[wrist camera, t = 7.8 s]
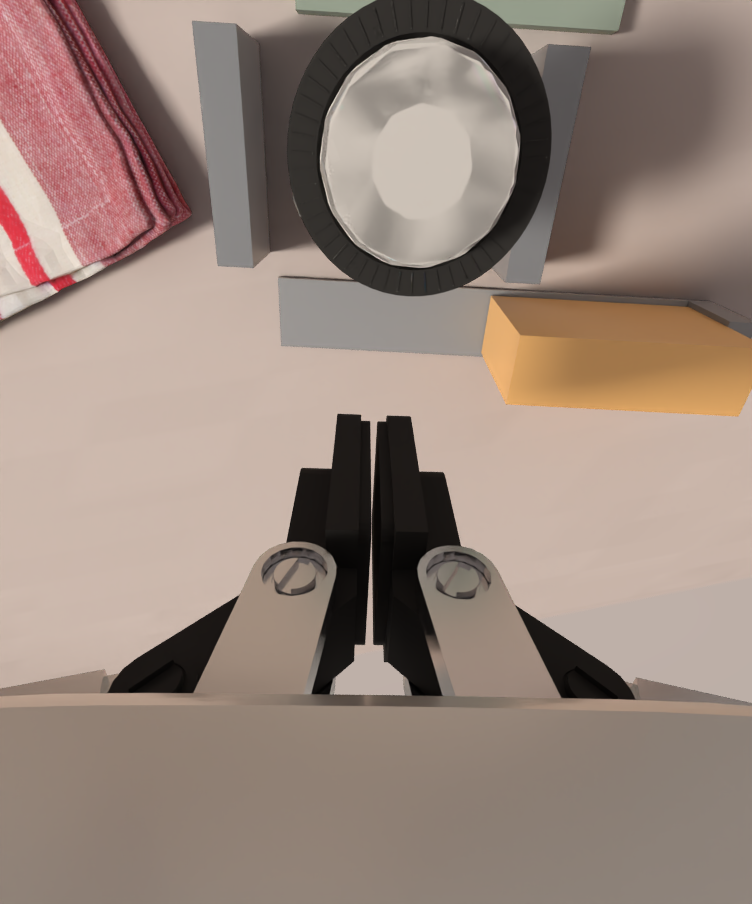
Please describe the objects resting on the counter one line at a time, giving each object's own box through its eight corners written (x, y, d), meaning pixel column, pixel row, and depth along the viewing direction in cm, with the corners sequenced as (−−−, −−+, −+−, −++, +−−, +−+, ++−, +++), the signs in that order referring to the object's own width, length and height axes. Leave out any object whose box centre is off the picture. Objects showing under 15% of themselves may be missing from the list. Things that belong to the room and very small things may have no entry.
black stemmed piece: (329, 270, 20) (289, 362, 11) (268, 120, 17) (158, 92, 9) (493, 206, 19) (587, 254, 10) (454, 34, 16) (536, -97, 8)
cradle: (222, 40, 16) (192, 20, 14) (798, 78, 17) (874, 65, 14) (246, 342, 21) (228, 368, 19) (685, 366, 22) (725, 395, 19)
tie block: (491, 295, 20) (520, 335, 16) (688, 306, 20) (770, 349, 16) (481, 353, 21) (506, 404, 17) (667, 363, 21) (738, 416, 17)
